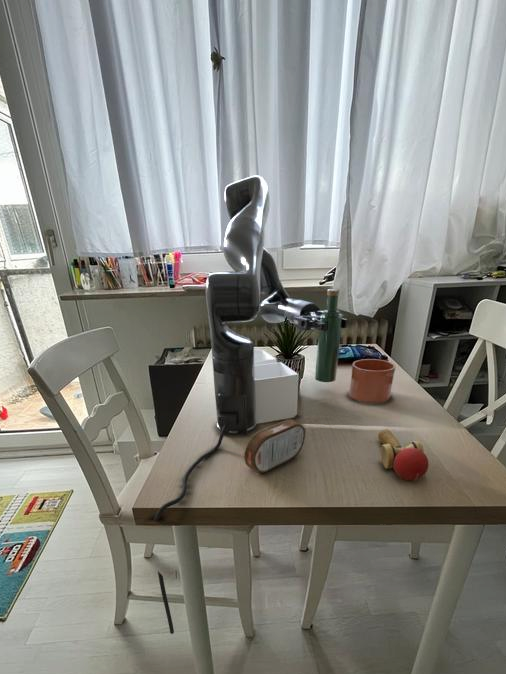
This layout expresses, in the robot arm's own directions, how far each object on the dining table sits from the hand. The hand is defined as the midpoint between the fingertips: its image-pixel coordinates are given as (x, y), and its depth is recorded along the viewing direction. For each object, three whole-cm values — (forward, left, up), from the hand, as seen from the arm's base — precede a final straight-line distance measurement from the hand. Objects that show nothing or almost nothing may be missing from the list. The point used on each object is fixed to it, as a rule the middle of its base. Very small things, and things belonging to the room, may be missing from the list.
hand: (335, 325), depth 102 cm
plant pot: (-2, -11, -19) cm, 22 cm away
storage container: (-8, +19, -19) cm, 28 cm away
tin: (-41, +12, -19) cm, 47 cm away
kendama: (-38, -12, -19) cm, 44 cm away
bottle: (+2, +1, -15) cm, 15 cm away
